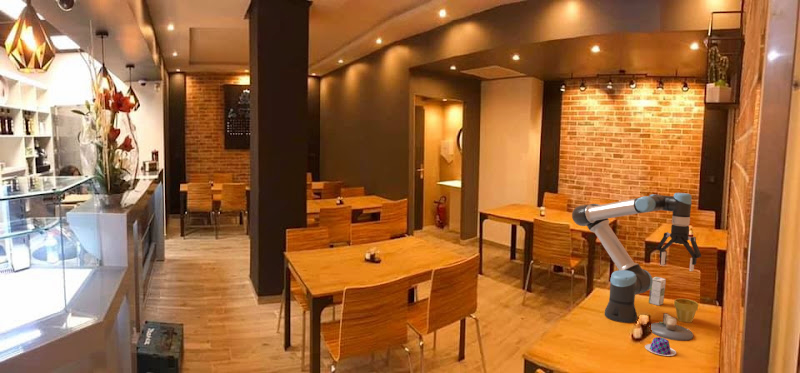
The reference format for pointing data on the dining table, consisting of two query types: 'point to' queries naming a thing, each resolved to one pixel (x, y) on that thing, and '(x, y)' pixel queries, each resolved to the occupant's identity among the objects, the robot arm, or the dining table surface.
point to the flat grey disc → (671, 332)
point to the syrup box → (657, 291)
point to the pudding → (660, 347)
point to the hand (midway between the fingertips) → (676, 267)
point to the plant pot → (685, 309)
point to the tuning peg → (669, 321)
